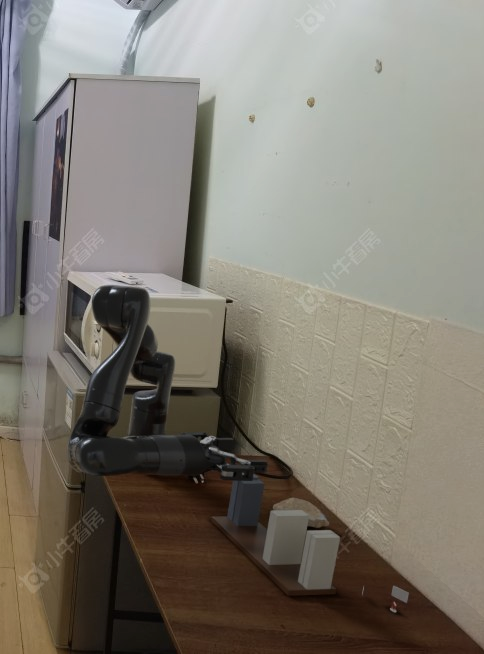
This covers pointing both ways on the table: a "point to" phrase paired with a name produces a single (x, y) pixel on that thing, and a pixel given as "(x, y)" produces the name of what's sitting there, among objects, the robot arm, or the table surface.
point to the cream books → (318, 559)
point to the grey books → (246, 502)
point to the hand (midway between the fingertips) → (248, 454)
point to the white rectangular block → (285, 537)
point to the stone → (315, 515)
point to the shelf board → (253, 547)
